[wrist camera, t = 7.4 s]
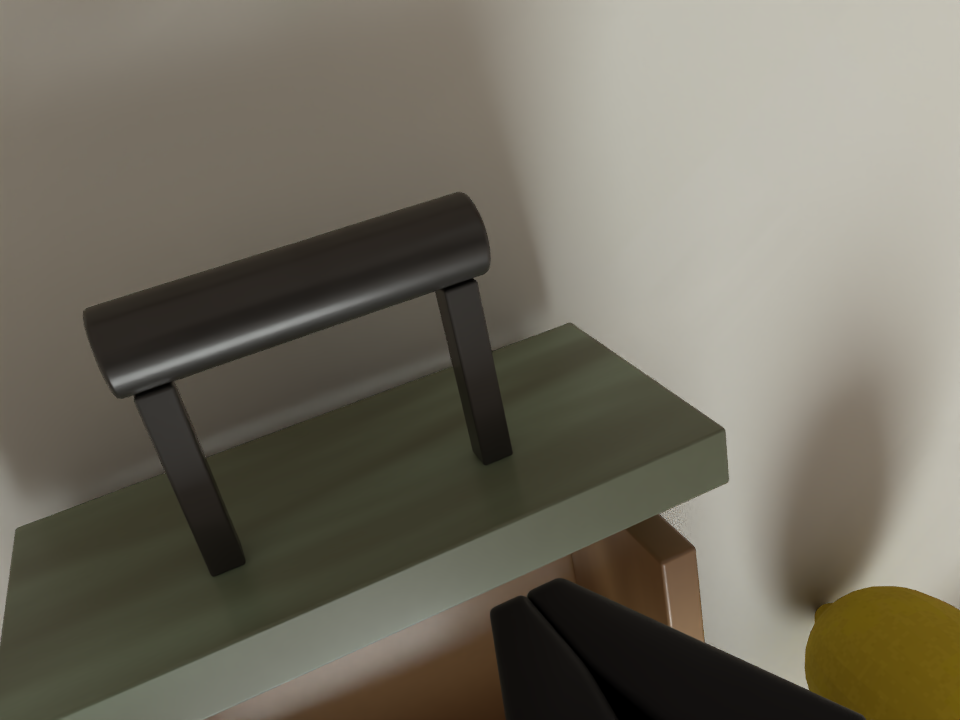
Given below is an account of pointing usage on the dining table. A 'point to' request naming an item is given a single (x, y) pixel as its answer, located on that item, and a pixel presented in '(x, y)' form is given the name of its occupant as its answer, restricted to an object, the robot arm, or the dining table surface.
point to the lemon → (887, 654)
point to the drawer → (350, 503)
